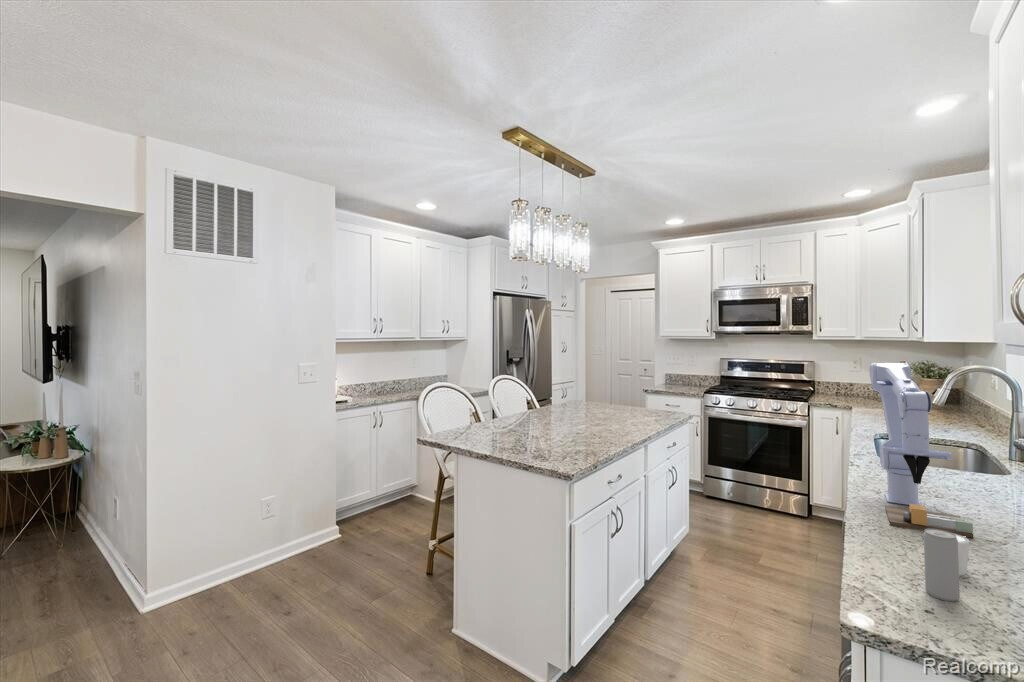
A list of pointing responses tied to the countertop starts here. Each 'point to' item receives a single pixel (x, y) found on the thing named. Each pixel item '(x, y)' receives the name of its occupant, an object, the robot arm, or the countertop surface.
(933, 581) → the beverage can
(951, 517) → the tong arm
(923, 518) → the collar
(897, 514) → the tong board
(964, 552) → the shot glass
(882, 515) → the countertop surface
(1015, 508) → the countertop surface
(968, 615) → the countertop surface
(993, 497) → the countertop surface
